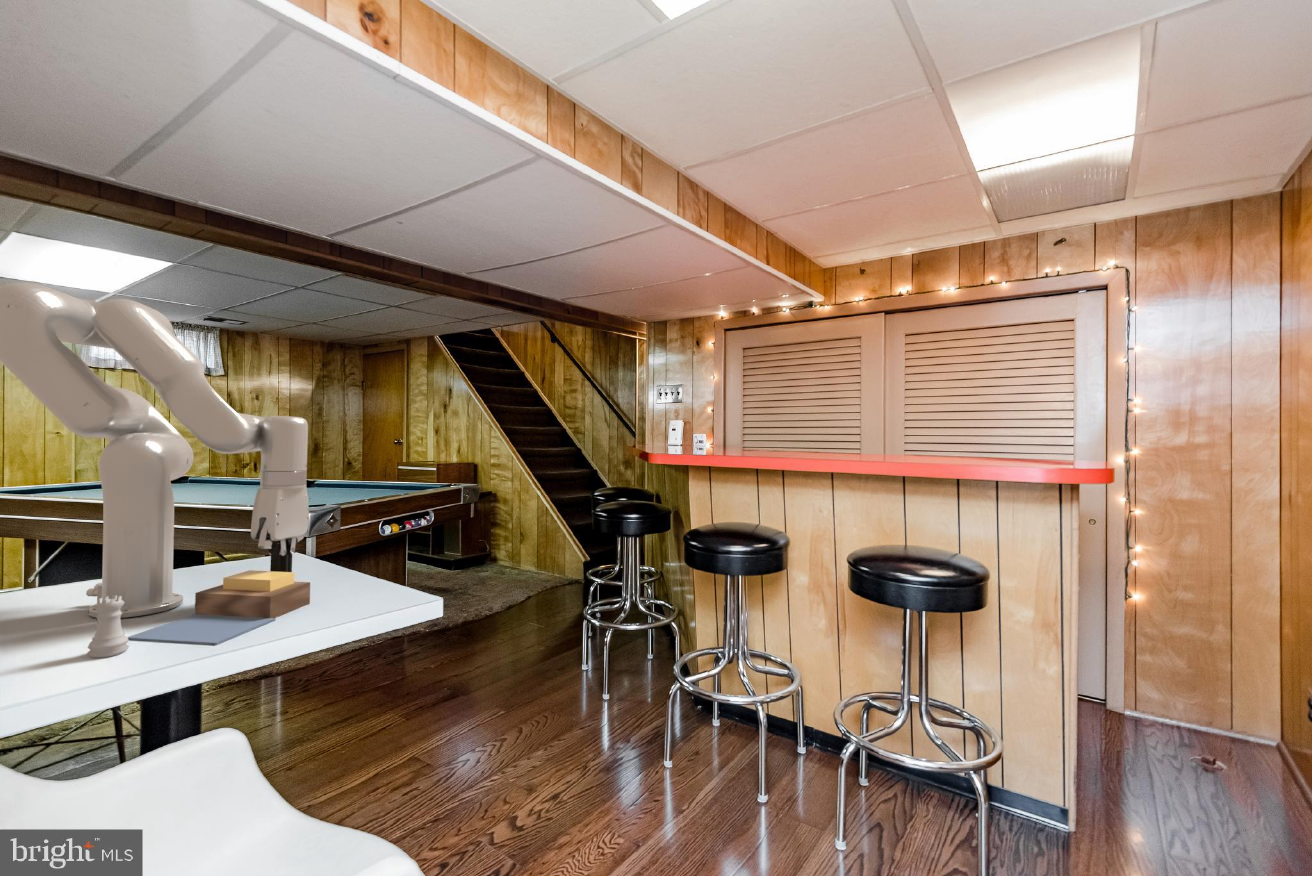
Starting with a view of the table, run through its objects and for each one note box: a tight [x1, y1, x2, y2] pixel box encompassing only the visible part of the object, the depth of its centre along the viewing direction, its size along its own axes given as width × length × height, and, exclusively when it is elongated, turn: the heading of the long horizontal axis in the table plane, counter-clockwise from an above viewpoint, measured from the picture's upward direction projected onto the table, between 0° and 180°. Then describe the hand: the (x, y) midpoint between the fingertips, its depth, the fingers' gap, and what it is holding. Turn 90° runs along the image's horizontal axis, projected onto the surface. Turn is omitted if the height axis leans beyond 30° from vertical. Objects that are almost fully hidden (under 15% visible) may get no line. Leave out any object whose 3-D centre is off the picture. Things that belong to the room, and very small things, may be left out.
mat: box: [127, 613, 277, 646], centre depth 94 cm, size 15×12×1 cm
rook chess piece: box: [86, 596, 130, 659], centre depth 83 cm, size 4×4×8 cm
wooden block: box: [194, 581, 311, 618], centre depth 105 cm, size 14×10×4 cm
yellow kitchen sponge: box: [222, 570, 295, 591], centre depth 106 cm, size 9×6×2 cm, turn 85°
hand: (281, 574), depth 112 cm, fingers closed
